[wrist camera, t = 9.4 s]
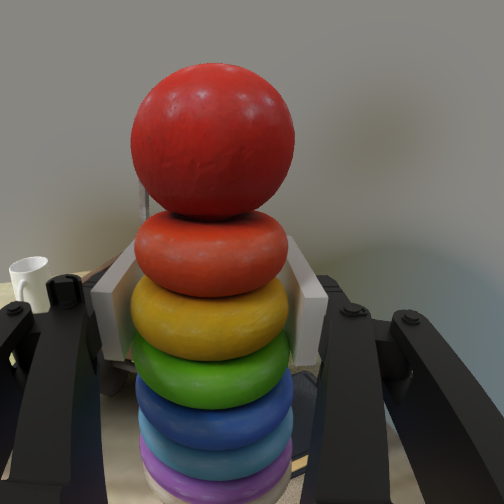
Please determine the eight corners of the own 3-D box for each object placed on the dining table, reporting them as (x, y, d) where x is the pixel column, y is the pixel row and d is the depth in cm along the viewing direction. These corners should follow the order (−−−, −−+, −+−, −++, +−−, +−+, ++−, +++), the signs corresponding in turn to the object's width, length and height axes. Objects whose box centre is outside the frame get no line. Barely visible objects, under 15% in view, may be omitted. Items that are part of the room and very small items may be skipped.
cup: (61, 301, 56) (52, 255, 53) (49, 333, 45) (35, 280, 42) (27, 303, 53) (17, 258, 50) (11, 334, 43) (-5, 282, 39)
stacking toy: (294, 430, 18) (346, 94, 11) (278, 540, 10) (393, 25, 4) (174, 408, 19) (165, 88, 13) (124, 502, 11) (36, 53, 5)
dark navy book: (310, 362, 42) (380, 432, 29) (308, 372, 43) (375, 441, 30) (168, 399, 34) (210, 503, 21) (170, 409, 35) (212, 510, 22)
